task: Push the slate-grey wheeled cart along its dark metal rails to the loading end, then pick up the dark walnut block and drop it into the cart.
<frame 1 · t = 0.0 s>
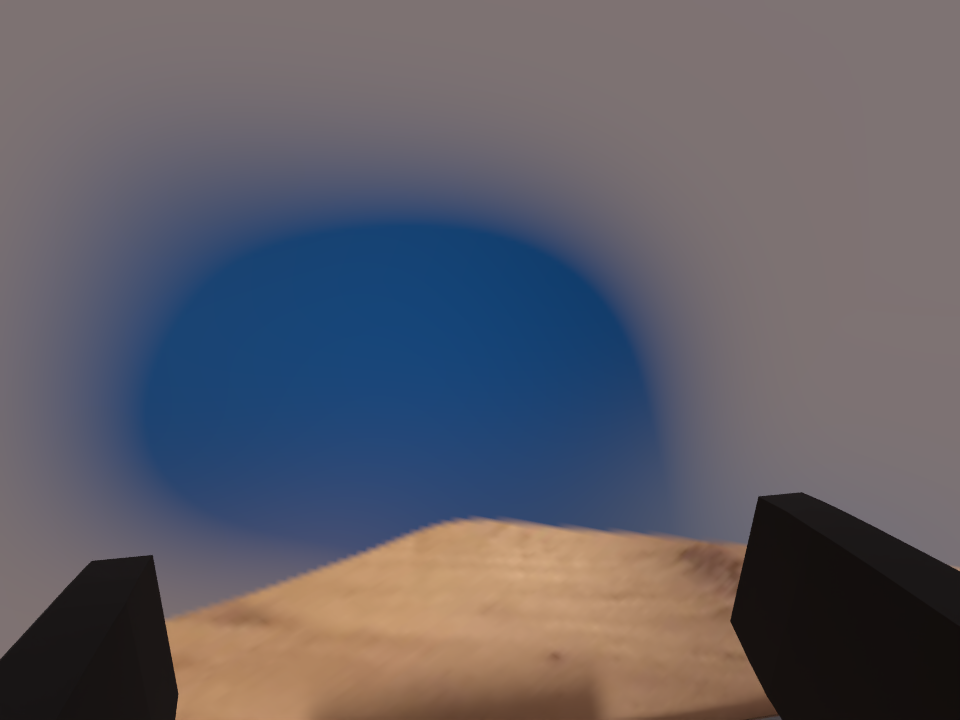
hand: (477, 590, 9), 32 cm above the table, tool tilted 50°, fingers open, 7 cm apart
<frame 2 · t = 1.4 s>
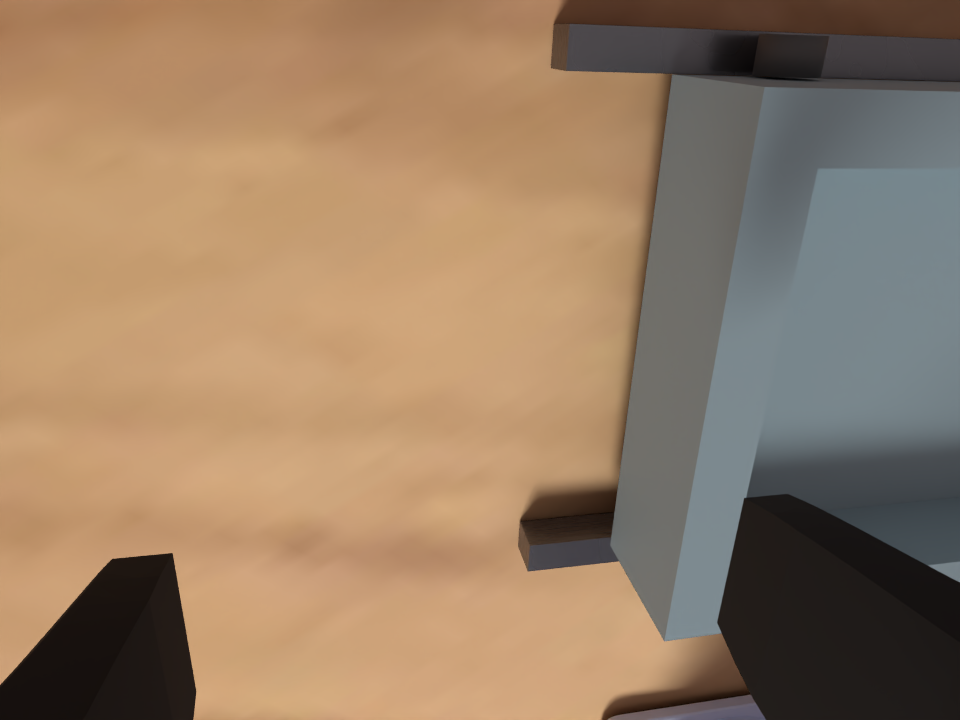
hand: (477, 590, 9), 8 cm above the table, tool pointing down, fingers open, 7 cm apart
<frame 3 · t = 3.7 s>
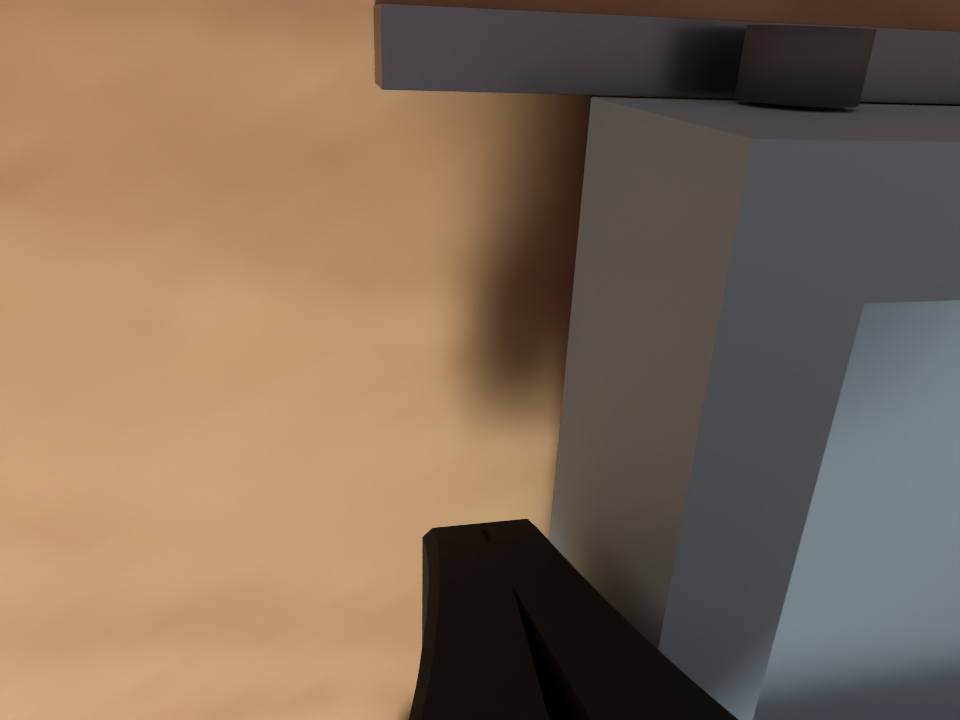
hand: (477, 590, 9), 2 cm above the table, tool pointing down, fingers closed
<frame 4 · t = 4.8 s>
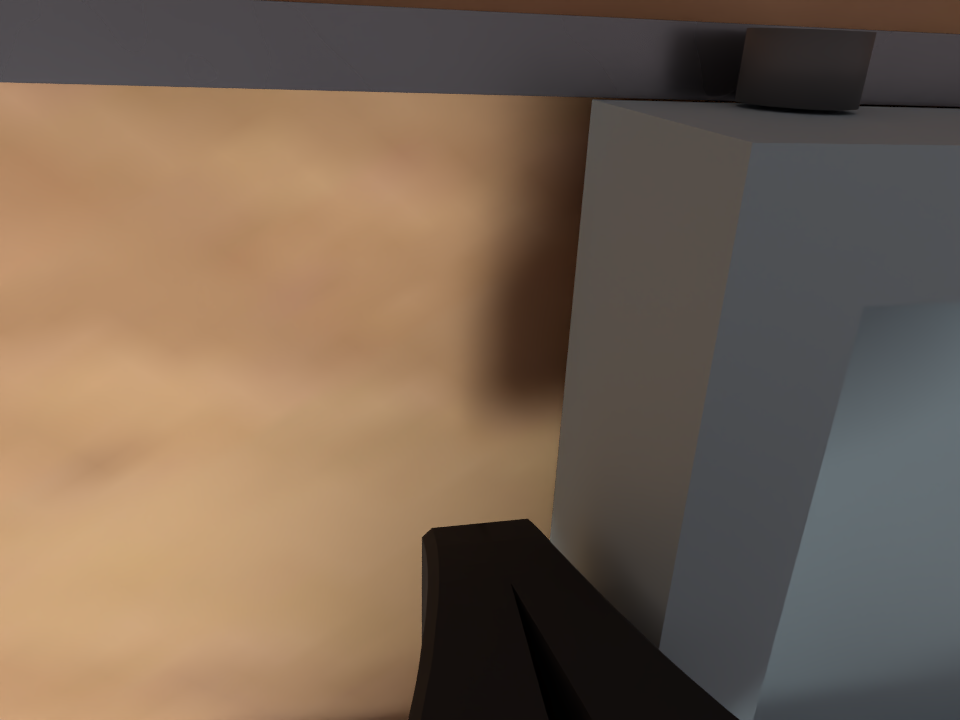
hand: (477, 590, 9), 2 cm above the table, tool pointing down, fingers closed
rail: (814, 450, 12), on the table
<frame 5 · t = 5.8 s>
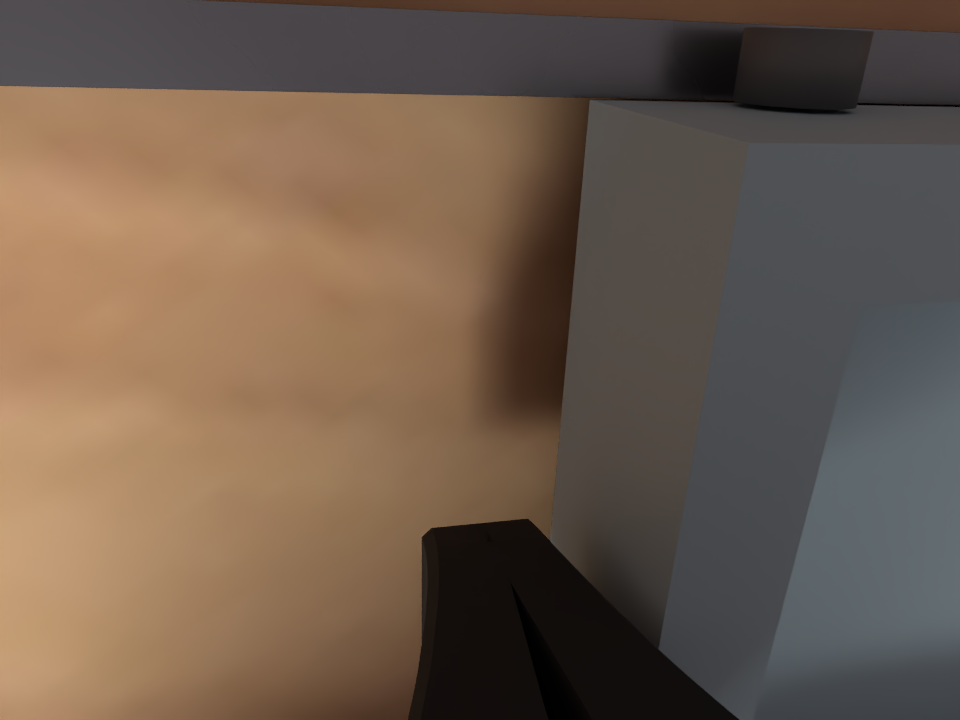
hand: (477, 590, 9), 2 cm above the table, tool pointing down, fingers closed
rail: (604, 467, 11), on the table
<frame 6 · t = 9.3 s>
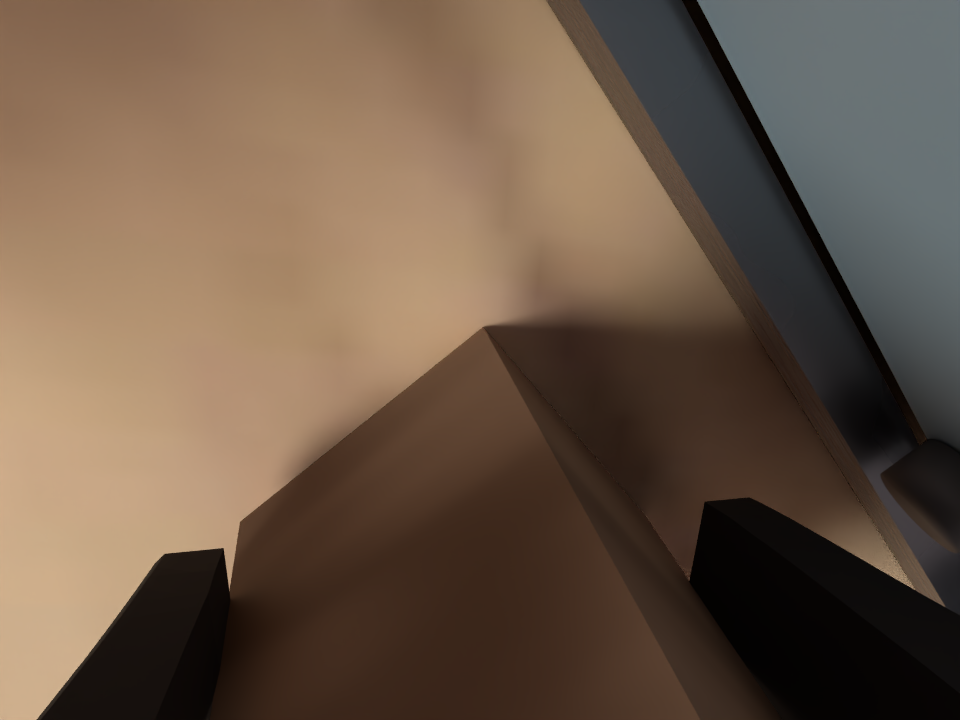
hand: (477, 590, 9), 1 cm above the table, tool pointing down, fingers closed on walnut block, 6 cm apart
walnut block: (456, 519, 10), on the table, touching gripper
when the fingers open (5 cm above the table, at t = 13.0 s): walnut block drops 1 cm, resting on cart.
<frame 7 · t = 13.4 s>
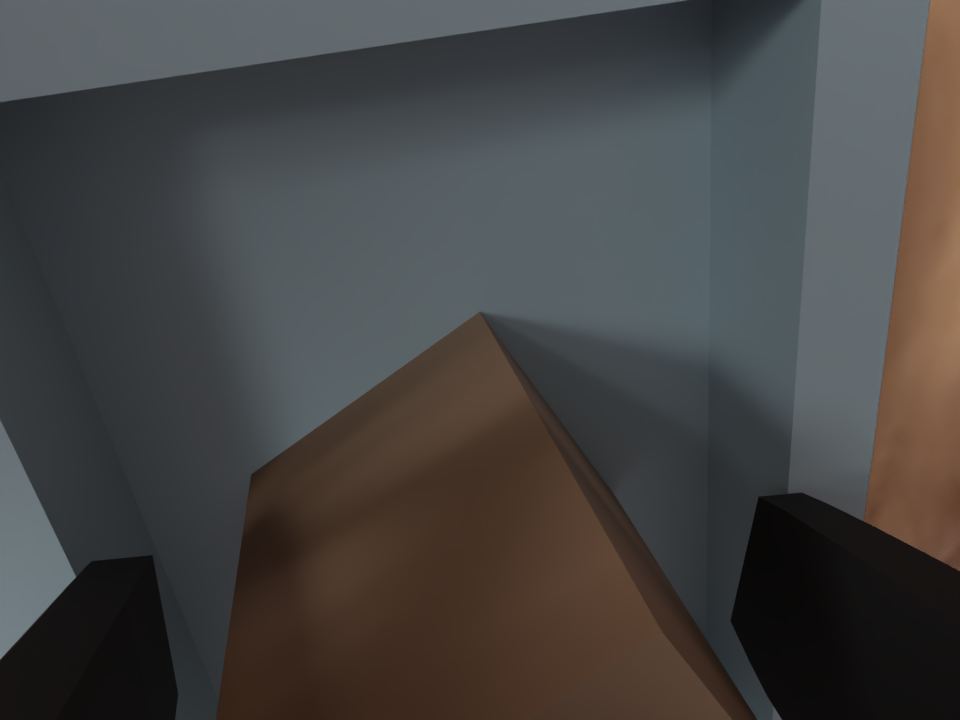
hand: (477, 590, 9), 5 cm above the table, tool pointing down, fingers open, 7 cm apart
walnut block: (444, 484, 11), point 2 cm above the table, touching cart
cart: (447, 481, 10), point 3 cm above the table, slide at 11.8 cm, touching walnut block
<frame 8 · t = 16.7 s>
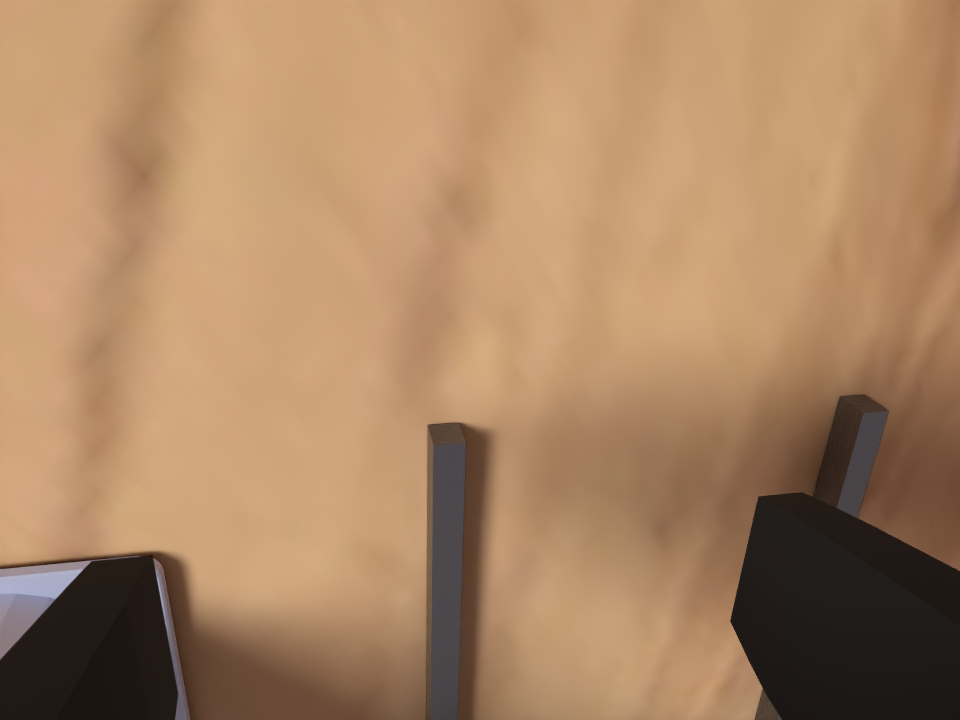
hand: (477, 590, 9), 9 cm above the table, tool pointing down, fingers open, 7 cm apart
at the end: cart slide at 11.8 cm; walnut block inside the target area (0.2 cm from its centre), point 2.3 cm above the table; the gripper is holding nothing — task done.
